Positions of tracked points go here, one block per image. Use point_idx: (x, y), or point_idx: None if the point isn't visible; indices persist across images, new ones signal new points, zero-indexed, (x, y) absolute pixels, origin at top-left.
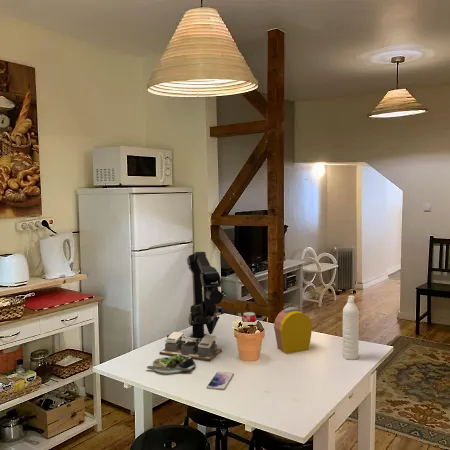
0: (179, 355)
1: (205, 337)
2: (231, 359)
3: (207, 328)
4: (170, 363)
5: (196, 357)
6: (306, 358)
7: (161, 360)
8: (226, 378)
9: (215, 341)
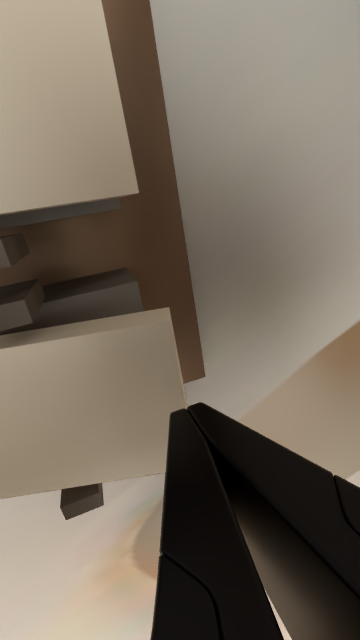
0: None
1: (101, 358)
2: (107, 501)
3: (164, 515)
4: None
5: None
6: (284, 633)
7: None
8: None
9: (99, 500)
